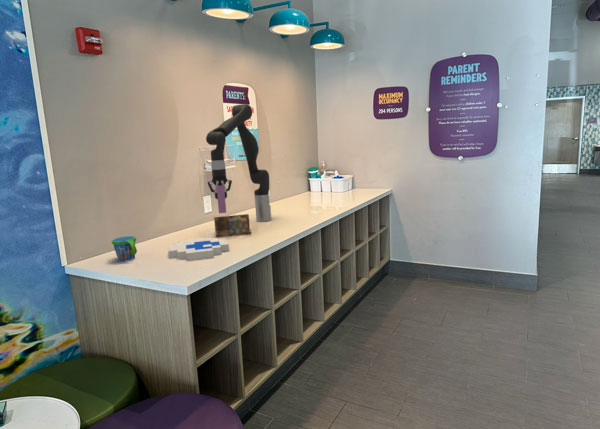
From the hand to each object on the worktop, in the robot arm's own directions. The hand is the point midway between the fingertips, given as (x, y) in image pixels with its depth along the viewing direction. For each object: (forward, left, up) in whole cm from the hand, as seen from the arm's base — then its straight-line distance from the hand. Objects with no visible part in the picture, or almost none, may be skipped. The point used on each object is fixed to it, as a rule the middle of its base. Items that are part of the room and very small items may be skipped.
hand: (221, 198), depth 236 cm
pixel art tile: (+32, +13, -21) cm, 41 cm away
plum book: (0, 0, -7) cm, 7 cm away
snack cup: (+56, -11, -21) cm, 61 cm away
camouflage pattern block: (-4, +3, -21) cm, 21 cm away
